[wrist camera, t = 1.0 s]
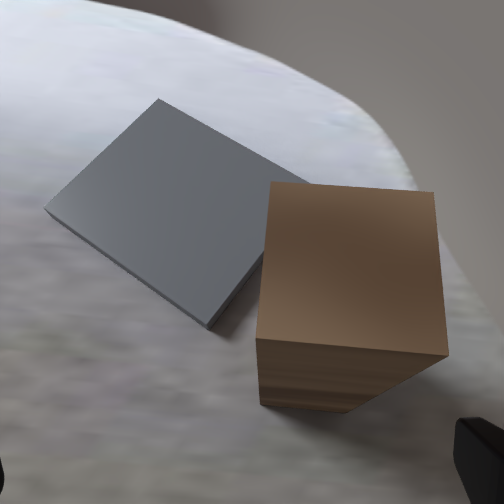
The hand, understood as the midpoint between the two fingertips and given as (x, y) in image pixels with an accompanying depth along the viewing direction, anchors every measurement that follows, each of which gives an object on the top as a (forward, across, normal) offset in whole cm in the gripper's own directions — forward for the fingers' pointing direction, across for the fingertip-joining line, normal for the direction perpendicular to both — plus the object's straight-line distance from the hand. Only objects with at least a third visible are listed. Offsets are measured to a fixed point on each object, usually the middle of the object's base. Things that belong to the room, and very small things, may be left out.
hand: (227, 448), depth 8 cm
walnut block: (+14, -3, +6) cm, 16 cm away
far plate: (+21, +4, -2) cm, 21 cm away
